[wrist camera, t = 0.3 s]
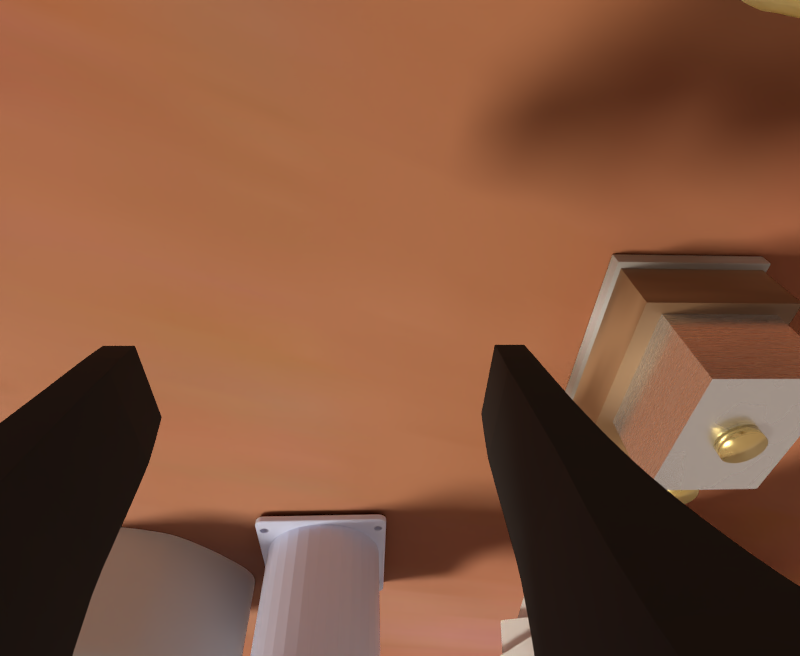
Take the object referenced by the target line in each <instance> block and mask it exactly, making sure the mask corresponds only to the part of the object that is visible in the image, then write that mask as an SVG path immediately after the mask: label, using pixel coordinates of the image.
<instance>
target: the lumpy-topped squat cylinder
mask: <svg viewBox="0 0 800 656" xmlns="http://www.w3.org/2000/svg"><path fill="white" fill-rule="evenodd" d="M254 586H255V579H254V577H253V575H252V574H251V573H250V572H249V571H248V570H247V569H246V568H244V567H243V566H241V565H239V564H238V563H236V562H234V561H232V560H230V559H228V558H226V557H224V556H223V555H221V554H219V553H217V552H214V551H212V550H210V549H208V548H206V547H203V546H201V545H199V544H196V543H194V542H191V541H189V540H186V539H183V538H181V537H178V536H174V535H171V534H166V533H161V532H155V531H149V530H141V529H134V528H124V527H121V528H120V530H119V533H118V535H117V537H116V540H115V542H114V544H113V546H112V549H111V551H110V553H109V555H108V558H107V560H106V562H105V564H104V567H103V569H102V571H101V574H100V576H99V579H98V582H97V584H96V587H95V589H94V592H93V594H92V597H91V600H90V603H89V606H88V609H87V612H86V615H85V618H84V621H83V625H82V628H81V631H80V634H79V637H78V640H77V643H76V646H75V649H74V652H73V656H242V653H243V648H244V642H245V636H246V631H247V625H248V620H249V614H250V609H251V603H252V597H253V592H254Z"/></svg>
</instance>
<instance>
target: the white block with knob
mask: <svg viewBox="0 0 800 656" xmlns="http://www.w3.org/2000/svg"><path fill="white" fill-rule="evenodd" d="M613 424H614V426H615V428H616V430H617V432H618V434H619V436H620V438H621V440H622V442H623V444H624V446H625V448H626V450H627V452H628V454H629V456H630V458H631V459H632V460H633V461H634V462H635V463H636V464H637V465H638V466H640V467H641V468H642V469H643V470H644V471H645V472H646V473H647V474H649V475H650V476H651V477H652V478H653V479H654V480H656V481H657V482H658V483H659V484H660V485H662V486H663V487H664V488H665V489H666V490H713V489H757V488H758V487H759V485H760V484H761V483H762V482H763V481H764V479H765V478H766V477H767V476H768V474H769V473H770V472H771V471H772V470H773V468H774V467H775V466H776V465H777V463H778V462H779V461H780V460H781V458H782V457H783V456H784V455H785V454H786V452H787V451H788V450H789V449H790V447H791V446H792V445H793V444H794V442H795V441H796V440H797V439H798V438H799V436H800V336H799V335H798V334H797V333H796V332H795V331H794V330H793V329H792V328H791V327H790V326H789V325H787V324H786V323H785V322H784V321H783V320H782V319H781V318H780V317H779V316H778V315H777V314H661V316H660V319H659V321H658V323H657V325H656V327H655V330H654V332H653V334H652V336H651V339H650V341H649V343H648V345H647V347H646V350H645V352H644V354H643V356H642V358H641V361H640V363H639V365H638V367H637V370H636V372H635V374H634V376H633V378H632V381H631V383H630V385H629V387H628V389H627V392H626V394H625V396H624V398H623V401H622V403H621V405H620V407H619V409H618V412H617V414H616V416H615V418H614V421H613Z"/></svg>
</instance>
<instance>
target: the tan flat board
mask: <svg viewBox="0 0 800 656" xmlns="http://www.w3.org/2000/svg"><path fill="white" fill-rule="evenodd" d="M770 265H771V263H769V262H768V261H767V260H766V259H764V258H763V257H762V256H694V255H625V254H613V255H612V258H611V261H610V263H609V266H608V269H607V272H606V275H605V278H604V281H603V284H602V287H601V289H600V292H599V295H598V298H597V301H596V304H595V307H594V310H593V313H592V316H591V318H590V321H589V324H588V327H587V330H586V333H585V336H584V339H583V342H582V344H581V347H580V350H579V353H578V356H577V359H576V362H575V365H574V368H573V371H572V373H571V376H570V379H569V382H568V385H567V388H566V391H565V392H566V393H567V394H568V395H569V396H570V397H571V399H572V400H573V401H574V402H575V403H576V404H577V405H578V406H579V407H580V408H581V409H582V410H583V411H584V413H585V414H586V415H587V416H588V417H589V418H590V419H591V420H592V421H593V422H594V423H595V424H596V425H597V426H598V427H599V428H600V429H601V430H602V431H603V432H604V433H605V434H606V435H607V436H608V437H609V438H610V439H611V440H612V441H613V442H614V443H615V444H616V445H617V446H618V447H619V448H620V449H621V450H622V451H623V452H624V453H625V454H627V455H628V456H629V454H628V452H627V450H626V448H625V446H624V444H623V442H622V440H621V438H620V436H619V434H618V432H617V430H616V428H615V426H614V424H613V421H614V418H615V416H616V414H617V412H618V409H619V407H620V405H621V403H622V401H623V398H624V396H625V394H626V392H627V389H628V387H629V385H630V383H631V381H632V378H633V376H634V374H635V372H636V370H637V367H638V365H639V363H640V361H641V358H642V356H643V354H644V352H645V350H646V347H647V345H648V343H649V341H650V339H651V336H652V334H653V332H654V330H655V327H656V325H657V323H658V321H659V319H660V316H661V314H777V315H778V316H779V317H780V318H781V319H782V320H783V321H784V322H785V323H786V324H787V325H789V324H790V322H791V321H792V319H793V318H794V316H795V315H796V313H797V312H798V310H799V309H800V301H799V300H797V299H796V298H795V297H794V296H793V295H792V294H790V293H789V292H788V291H787V290H786V289H784V288H783V287H782V286H781V285H780V284H779V283H777V282H776V281H775V280H774V279H773V278H771V277H770V276H769V275H768V274H767V273H766V272H767V270H768V268H769V266H770ZM629 457H630V456H629Z"/></svg>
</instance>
